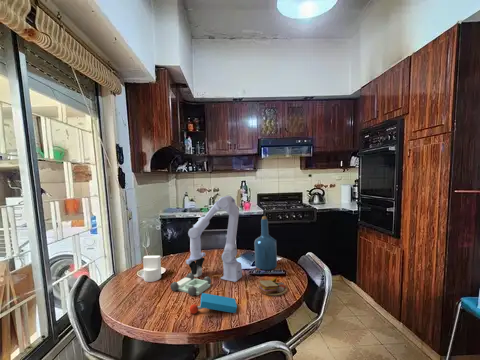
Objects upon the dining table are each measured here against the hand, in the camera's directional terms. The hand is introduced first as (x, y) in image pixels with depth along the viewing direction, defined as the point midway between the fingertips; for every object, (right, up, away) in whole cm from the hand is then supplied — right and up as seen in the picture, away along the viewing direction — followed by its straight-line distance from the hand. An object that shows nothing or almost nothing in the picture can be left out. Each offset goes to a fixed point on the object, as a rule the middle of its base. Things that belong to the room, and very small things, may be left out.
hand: (196, 272), depth 131 cm
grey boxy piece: (0, -1, 0) cm, 1 cm away
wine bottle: (+40, 0, +9) cm, 41 cm away
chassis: (0, -2, -15) cm, 15 cm away
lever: (+13, -2, -35) cm, 38 cm away
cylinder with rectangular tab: (-24, -3, -2) cm, 24 cm away
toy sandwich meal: (+40, -1, -21) cm, 45 cm away
